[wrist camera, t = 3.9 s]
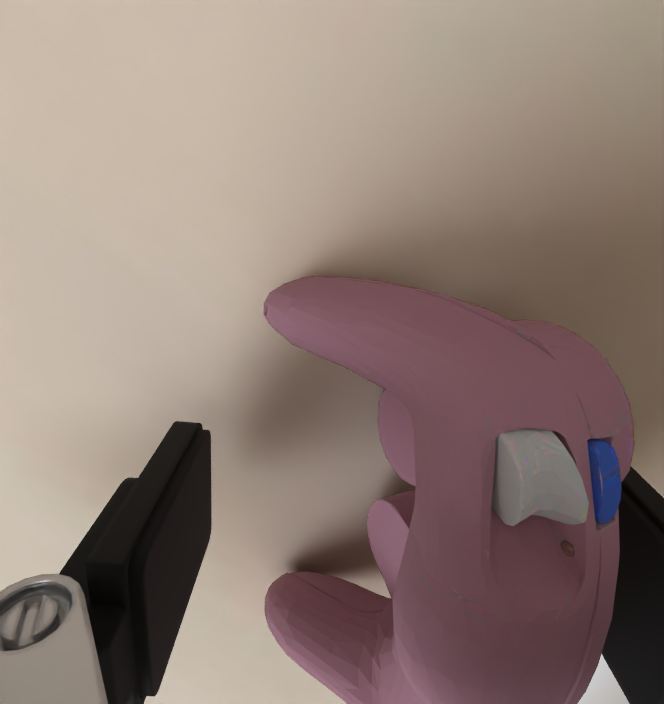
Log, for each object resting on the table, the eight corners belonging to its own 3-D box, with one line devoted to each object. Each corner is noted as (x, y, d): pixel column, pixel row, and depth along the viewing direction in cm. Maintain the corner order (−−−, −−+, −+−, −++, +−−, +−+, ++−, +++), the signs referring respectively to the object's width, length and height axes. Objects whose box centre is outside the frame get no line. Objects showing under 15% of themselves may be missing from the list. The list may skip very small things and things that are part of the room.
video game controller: (387, 557, 15) (576, 804, 9) (253, 607, 13) (387, 960, 7) (424, 255, 12) (768, 351, 6) (247, 261, 10) (501, 415, 4)
